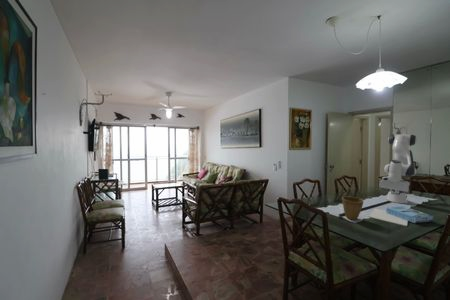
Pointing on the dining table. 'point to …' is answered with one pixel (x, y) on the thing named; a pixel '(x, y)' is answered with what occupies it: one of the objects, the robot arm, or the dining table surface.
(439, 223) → the dining table surface
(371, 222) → the dining table surface
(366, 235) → the dining table surface
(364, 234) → the dining table surface
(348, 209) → the plant pot
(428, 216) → the gum box
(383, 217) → the white flat board
